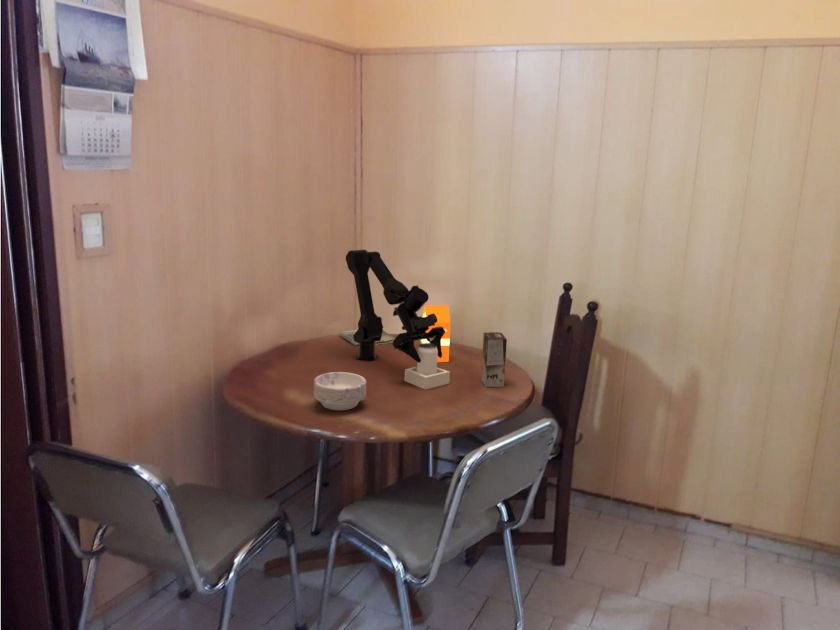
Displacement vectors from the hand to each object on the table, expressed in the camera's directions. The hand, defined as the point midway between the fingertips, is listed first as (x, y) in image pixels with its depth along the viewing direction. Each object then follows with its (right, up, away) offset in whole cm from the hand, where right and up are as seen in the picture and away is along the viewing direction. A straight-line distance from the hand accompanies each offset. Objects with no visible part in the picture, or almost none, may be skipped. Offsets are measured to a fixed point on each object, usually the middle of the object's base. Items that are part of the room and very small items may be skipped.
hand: (430, 359), depth 221 cm
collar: (-1, -8, +3) cm, 8 cm away
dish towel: (-24, +4, +52) cm, 58 cm away
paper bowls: (-27, -12, -20) cm, 36 cm away
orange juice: (+2, -2, +29) cm, 29 cm away
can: (-1, -7, +3) cm, 8 cm away
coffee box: (+20, -8, +5) cm, 22 cm away
